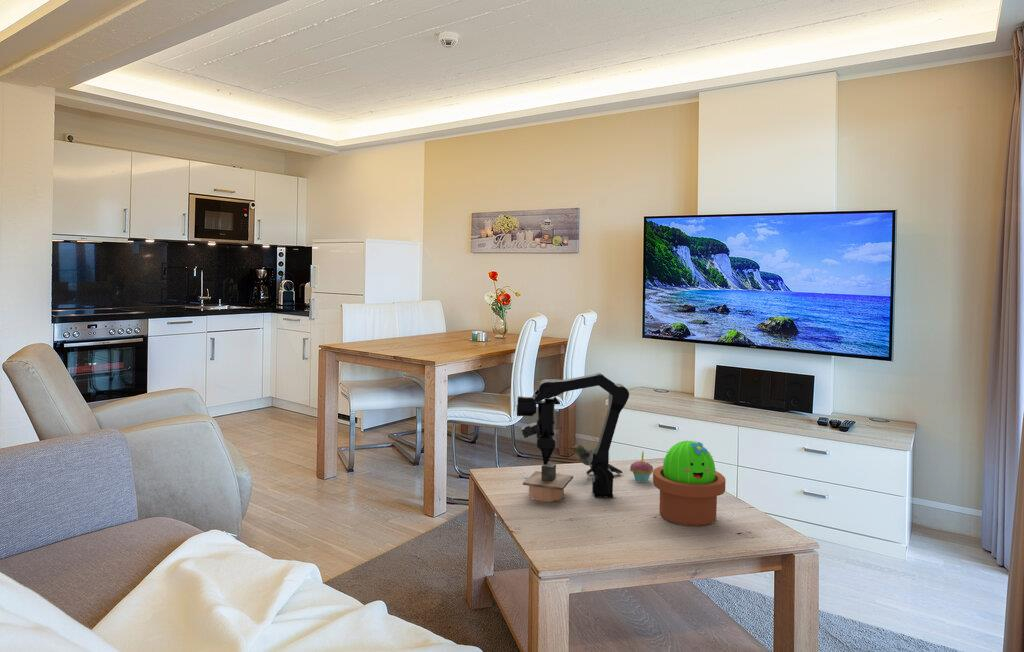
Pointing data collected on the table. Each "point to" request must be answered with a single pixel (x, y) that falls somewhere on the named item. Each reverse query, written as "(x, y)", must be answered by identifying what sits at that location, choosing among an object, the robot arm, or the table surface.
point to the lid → (548, 478)
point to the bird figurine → (584, 456)
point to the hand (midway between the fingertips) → (545, 460)
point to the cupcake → (641, 470)
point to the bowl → (545, 493)
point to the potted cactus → (688, 485)
